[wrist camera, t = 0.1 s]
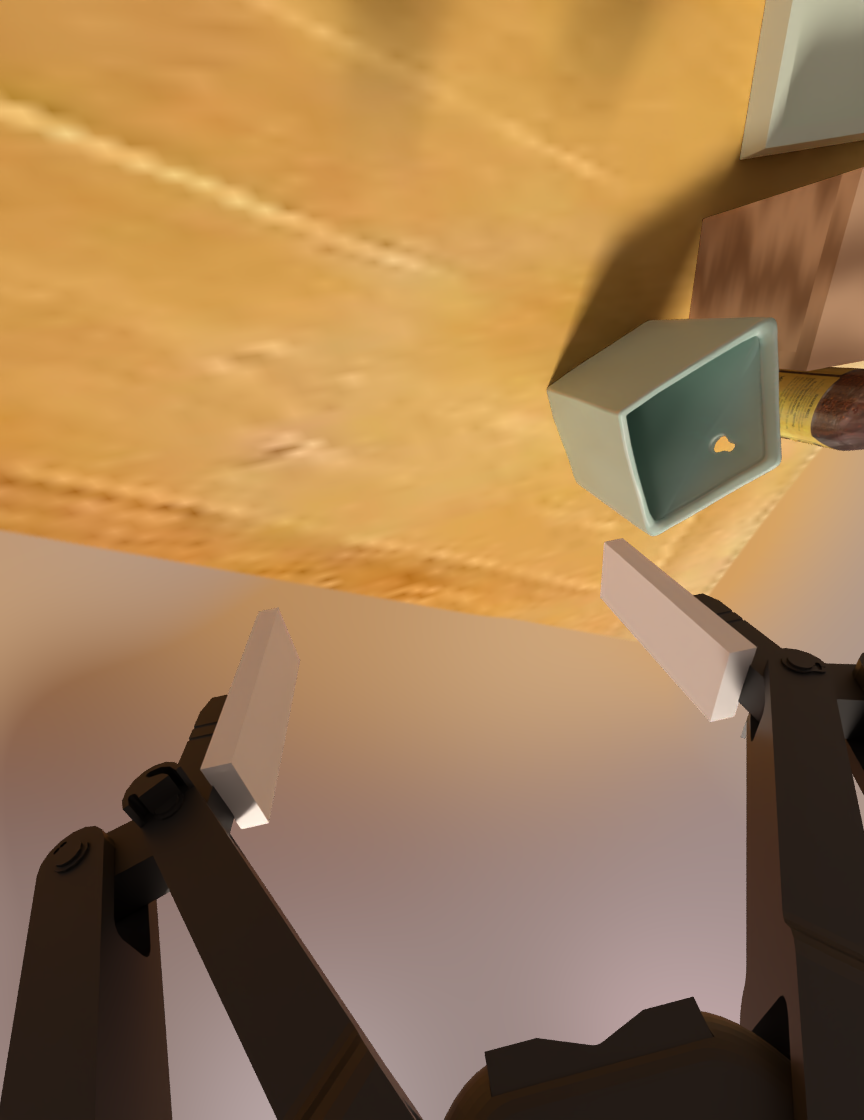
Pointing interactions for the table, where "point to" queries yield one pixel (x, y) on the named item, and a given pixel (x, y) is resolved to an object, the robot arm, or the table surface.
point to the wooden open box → (791, 270)
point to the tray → (807, 77)
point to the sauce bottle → (823, 407)
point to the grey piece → (672, 416)
